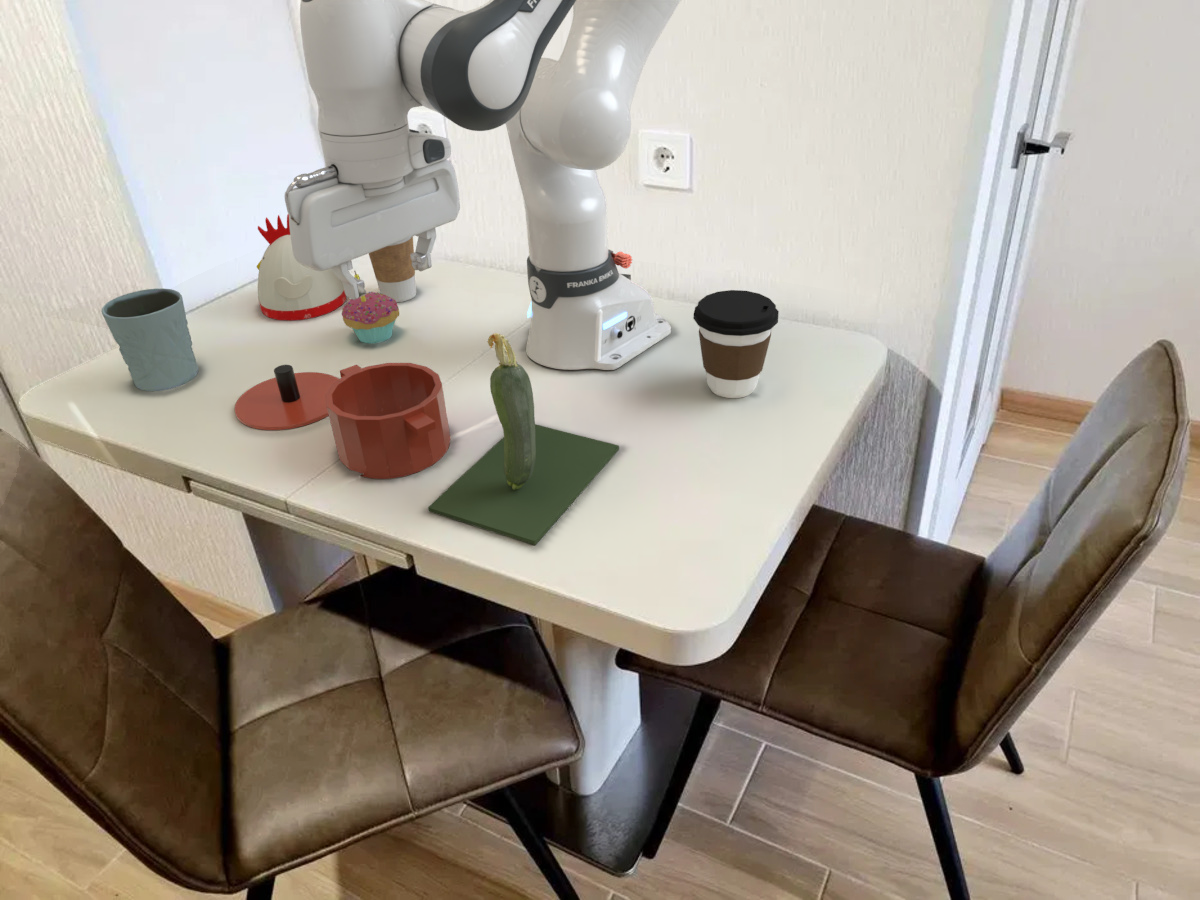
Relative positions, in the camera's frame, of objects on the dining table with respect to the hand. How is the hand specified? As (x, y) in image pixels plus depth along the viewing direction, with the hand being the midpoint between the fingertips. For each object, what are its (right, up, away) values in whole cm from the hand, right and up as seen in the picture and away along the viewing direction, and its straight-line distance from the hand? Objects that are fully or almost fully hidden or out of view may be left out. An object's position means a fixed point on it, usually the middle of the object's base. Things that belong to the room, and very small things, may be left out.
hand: (390, 282), depth 97 cm
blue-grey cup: (-39, -8, +30) cm, 50 cm away
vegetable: (+14, -23, +3) cm, 27 cm away
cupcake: (-11, -2, +38) cm, 40 cm away
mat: (+15, -22, +6) cm, 27 cm away
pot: (-2, -18, +13) cm, 22 cm away
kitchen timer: (-27, +6, +51) cm, 58 cm away
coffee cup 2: (+41, -10, +22) cm, 48 cm away
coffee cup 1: (-11, +7, +52) cm, 53 cm away
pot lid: (-19, -12, +22) cm, 31 cm away
